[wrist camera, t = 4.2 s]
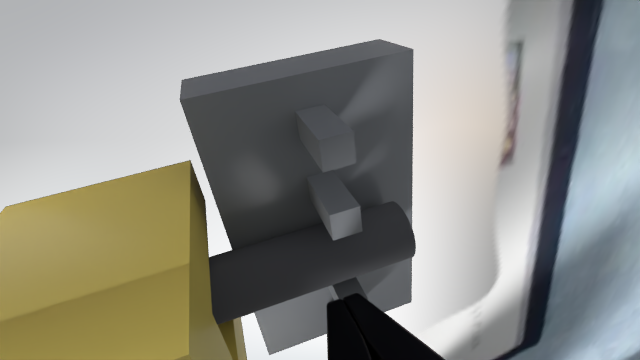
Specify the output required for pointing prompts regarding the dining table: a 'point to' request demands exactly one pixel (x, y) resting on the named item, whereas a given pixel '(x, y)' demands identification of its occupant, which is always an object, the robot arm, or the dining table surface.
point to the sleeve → (112, 274)
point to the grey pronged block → (309, 161)
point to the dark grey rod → (306, 262)
